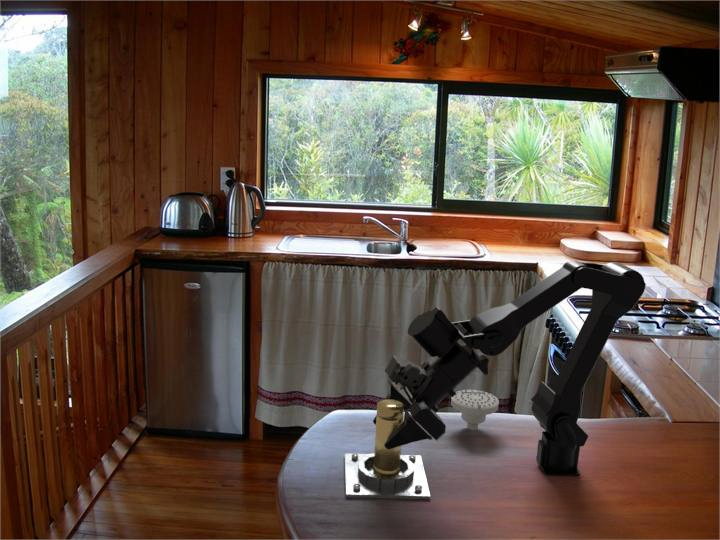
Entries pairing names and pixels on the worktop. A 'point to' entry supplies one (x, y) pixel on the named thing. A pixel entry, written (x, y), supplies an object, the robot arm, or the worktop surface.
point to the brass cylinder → (386, 425)
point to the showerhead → (474, 406)
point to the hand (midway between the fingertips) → (380, 435)
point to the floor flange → (385, 479)
